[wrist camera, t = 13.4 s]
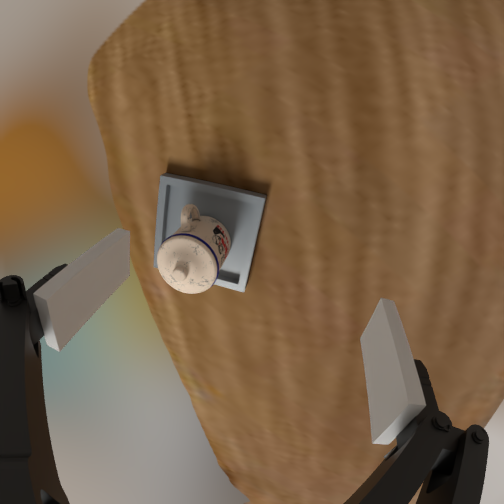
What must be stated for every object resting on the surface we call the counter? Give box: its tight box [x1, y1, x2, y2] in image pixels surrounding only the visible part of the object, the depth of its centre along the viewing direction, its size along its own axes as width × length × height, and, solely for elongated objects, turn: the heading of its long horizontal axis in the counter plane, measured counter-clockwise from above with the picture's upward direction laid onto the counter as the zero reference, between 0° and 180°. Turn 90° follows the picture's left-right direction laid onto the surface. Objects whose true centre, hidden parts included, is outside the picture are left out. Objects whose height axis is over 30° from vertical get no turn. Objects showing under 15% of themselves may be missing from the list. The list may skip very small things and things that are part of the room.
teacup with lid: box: [157, 204, 231, 294], centre depth 44 cm, size 12×9×12 cm
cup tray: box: [154, 173, 267, 292], centre depth 49 cm, size 16×16×2 cm
